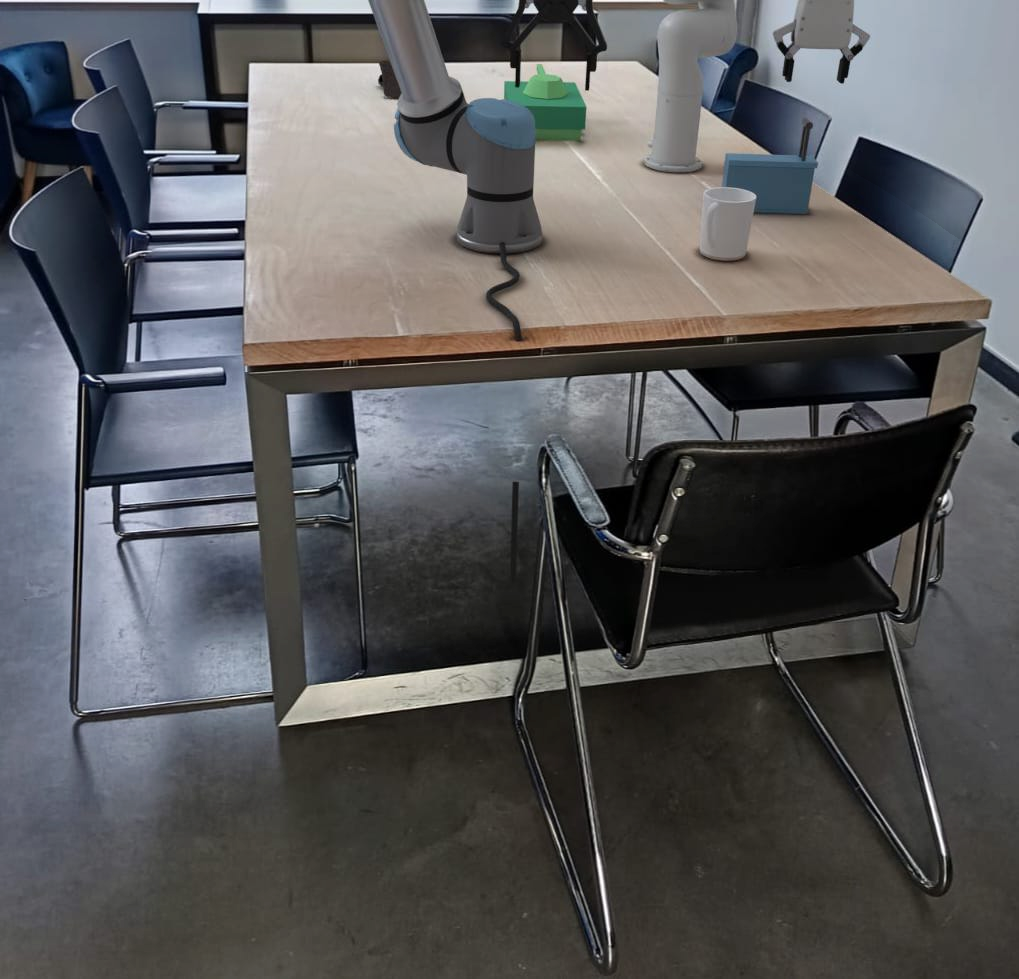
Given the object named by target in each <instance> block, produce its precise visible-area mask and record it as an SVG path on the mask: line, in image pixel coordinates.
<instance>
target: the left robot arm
mask: <svg viewBox="0 0 1019 979" xmlns="http://www.w3.org/2000/svg"><path fill="white" fill-rule="evenodd" d="M367 1H368V3H369V7H370V10H371V12H372V15H373V17H374V20H375V23H376V26H377V29H378V31H379V34H380V37H381V40H382V43H383V45H384V48H385V51H386V53H387V56H388V59H389V61H390V62H391V65H392V67H393V70H394V73H395V76H396V78H397V81H398V84H399V87H400V89H401V92H402V94H401V96H400V97H399V98H397V103H396V104H397V108H396V111H395V114H394V119H395V120H396V121H395V123H393V133H394V138H395V140H396V143H397V146H398V147H399V149H400V150H401V152H402V153H403V154H404V155H405V156H406V157H408V158H409V159H410V160H412V161H415V162H417V163H419V164H422V165H424V166H428V167H431V168H432V167H435V168H438V169H442V170H447V171H451V172H454V173H459V174H462V175H466V192H467V193H466V198H465V202H464V205H463V209H462V211H461V214H460V218H459V220H458V224H457V228H456V241H457V243H458V244H459V245H461V246H462V247H464V248H466V249H468V250H470V251H475V252H479V253H486V254H497V255H500V262H501V265H502V267H503V269H504V270H506V271H507V272H508V273H510V274H511V275H512V276H513V277H512V278H510V279H509V280H506V281H505V282H501V283H499V284H496V285H494V286H492V287H490V288H489V289H488V290H487V291H486V293H485V298H486V301H487V303H489V305H491V306H493V307H494V308H495V309H497V310H499V311H500V312H501V313H503V314H504V315H505V316H506V318H507V319H508V320H510V322H511V323H512V328H513V333H514V341H515V342H517V343H520V342H522V341H523V338H522V337H523V336H522V330H521V324H520V321H519V319H518V317H517V315H515V314H514V313H513V312H512V311H511V310H510V308H508V307H507V306H506V305H504V304H503V303H501V302H500V301H498V300H496V299H495V298H494V297H493V295H494V294H496V293H498V292H501V291H503V290H506V289H508V288H511V287H513V286H515V285H516V284H517V283H518V282H519V281H520V280H521V279H520V277H521V274H520V272H519V271H518V270H517V269H516V268H515V267H513V266H512V265H511V264H510V263H509V262H508V260H507V255H508V254H517V253H524V252H527V251H530V250H533V249H536V248H538V247H539V246H540V245H541V244H542V243H543V229H542V224H541V221H540V220H541V219H540V218H539V214H538V213H539V212H538V210H537V206H536V204H535V199H534V184H535V181H534V180H535V161H536V160H535V158H536V143H537V141H536V133H535V119H534V116H533V114H532V113H531V111H530V110H529V109H528V108H526V107H525V106H523V105H521V104H518V103H515V102H512V101H509V100H504V98H503V99H498V98H496V97H495V98H493V97H482V98H476V99H474V100H471V101H470V102H469V103H468V102H467V100H466V97H465V93H464V90H463V87H462V84H461V82H460V81H459V80H458V79H456V78H454V77H452V76H449V72H448V69H447V66H446V64H445V60H444V57H443V54H442V51H441V47H440V44H439V41H438V39H437V36H436V32H435V28H434V27H433V22H432V19H431V17H430V13H429V10H428V8H427V5H426V1H425V0H367ZM531 4H533V5H534V7H535V9H536V11H537V13H536V14H535V15H534V17H533V18H532V19H531V20H530V21H529V23H528V24H527V25H526V26H525V28H524V29H523V30H522V31H521V32H520V33H519V35H518V36H517V37H516V38H515V39H514V40H513V41H511V39H512V36H513V35H514V32H515V30H516V28H517V26H518V24H519V22H520V21H521V18H522V16H523V14H524V12H525V9H529V8H530V6H531ZM579 6H580V7H581V9H582V11H584V12H586V15H587V18H588V20H589V23H590V26H591V29H592V31H593V33H594V35H595V36H594V37H595V39H596V40H597V43H598V44H597V45H596V43H595V42H594V40H593V39H592V38H591V36H590V35H589V34H588V32H587V31H586V30H585V28H584V26H583V25H582V24H581V22H580V21H579V19H578V18H577V16H576V15H575V13H574V12H575V10H576V9H577V8H578V7H579ZM542 20H543V21H544V22H546V23H554V22H555V23H558V24H563V23H566V22H568V23H569V24H570V26H571V27H572V28H573V30H574V31H575V32H576V33H577V35H578V37H579V38H580V39H581V41H582V42H583V43H584V44H585V46H586V48H587V49H588V51H589V52H587V53H586V64H585V65H586V66H585V67H586V68H585V82H584V83H585V84H584V86H585V87H584V91H585V92H586V91H587V92H589V91H590V82H591V73H595V72H596V70H597V67H598V55H599V54H600V53H603V52H606V51H607V49H608V44H607V40H606V39H605V38H606V37H605V36H604V33H603V31H602V28H601V26H600V23H599V21H598V18H597V16H596V14H595V11H594V1H593V0H518V6H517V9H516V12H515V14H514V16H513V18H512V19H511V22H510V24H509V25H508V28H507V30H506V32H505V34H504V36H503V37H502V40H501V42H500V45H501V46H500V47H502V48H505V49H507V50H509V56H510V57H509V67H510V69H515V78H514V81H515V87H517V88H519V86H520V81H521V72H522V70H521V68H522V67H521V66H522V49H518V48H519V47H520V46H521V45H522V44H523V42H524V41H525V40H526V39H527V37H529V35H530V34H531V33H532V31H534V30H535V28H536V27H537V26H538V25H539V24H540V22H541V21H542ZM511 485H512V486H511V487H512V488H511V520H510V524H511V525H510V526H511V528H510V533H511V534H510V565H509V566H510V567H509V581H510V583H516V582H517V562H518V561H517V560H518V559H517V558H518V557H517V556H518V525H519V524H518V523H519V522H518V521H519V496H520V494H519V492H520V481H512V484H511Z"/></svg>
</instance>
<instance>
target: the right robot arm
mask: <svg viewBox="0 0 1019 979" xmlns="http://www.w3.org/2000/svg"><path fill="white" fill-rule="evenodd" d="M662 1H663V2H664V3H666V4H669V5H689V4H690V5H691V4H698V8H692V9H691V8H690V9H682V10H677V11H674V12H671V13H669V14H667V15H666V16H665V17H664V18H663V19H662V20H661V22H660V23H659V26H658V29H657V39H656V40H657V51H658V81H657V94H656V107H655V117H654V118H655V120H654V129H653V130H654V131H653V139H652V140H649V141H648V143H647V146H648V148H651V154H648V155H647V156H645V157H644V161H643V162H644V165H645V166H646V167H647V168H649V169H652V170H655V171H659V172H665V173H666V172H667V173H690V172H695V171H698V170H700V169H701V168H702V167H703V160H702V159H701V158H700V157H698V156H697V149H698V148H697V147H698V139H699V129H700V120H701V111H702V103H703V94H704V93H703V92H704V76H703V73H702V70H701V67H700V65H699V61H698V59H705V58H713V57H720V56H724V55H726V54H728V53H729V52H730V51H731V50H732V49H733V48H734V46H735V44H736V41H737V38H738V19H737V10H736V2H735V0H662ZM854 14H855V0H797V4H796V7H795V11H794V16H793V21H791V22H790V23H788V24H785V25H784V26H782V27H779V28H778V29H775V30H774V31H773V32H772V36H773V39H774V42H775V45H776V48H777V49H778V50H779V51H780V52H781V54H782V55H783V57H784V59H783V67H782V72H781V73H782V74H781V75H782V77H784V80H785V82H787V83H791V82H792V80H793V74H794V69H795V68H794V66H795V59H794V56H795V55H796V54H797V53H798V52H799V51H800V50H801V49H807V50H839V51H840V53H841V54H842V56H841V57H840V58H839V62H838V63H839V64H838V69H837V73H836V74H837V75H836V81H837V82H838V83H839V84H841V85H843V84H845V81H846V79H848V77H849V72H850V66H851V61H853V60H854V58H855V57H856V56H857V55H858V54H860V53H861V52H862V51H863V50H864V47H865V46H866V44H867V43H868V41H869V40H870V38H871V35H870V34H869V33H868V32H866V31H865V30H864V29H861V28H860V27H858V26H857V25H855V24H854ZM787 34H790V41H791V43H790V44H789V45H788V46H787V45H786V44H785V42H784V39H783V38H784V36H786V35H787ZM852 34H854V35H855V36H857V37H858V40H857V41H856V43H855V44H854V45H852V47H849V46H850V43H851V40H852Z"/></svg>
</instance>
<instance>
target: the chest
mask: <svg viewBox="0 0 1019 979" xmlns="http://www.w3.org/2000/svg"><path fill="white" fill-rule="evenodd" d="M815 169H816V168H788V167H756V166H729V165H728V163H727V161H726V159H725V158H724V165H723V173H722V180H721V187H730V188H739V189H744V190H747V191H750V192H752V193H754V194H755V195H756V202H755V207H754V213H753V214H755V213H756V214H757V213H758V214H785V215H808V212H809V211H808V210H809V206H810V200H811V194H812V188H813V181H814V176H815V171H816V170H815Z"/></svg>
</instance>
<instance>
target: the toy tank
mask: <svg viewBox="0 0 1019 979" xmlns="http://www.w3.org/2000/svg"><path fill="white" fill-rule="evenodd" d="M536 72H537V74H533V75H532V76H531V77H530V78H529V80H528V81H523V80H520V86H519V88H517V87H515V80H504V82H503V99H504V100H509V101H512V102H515V103H518V104H521V105H523V106H525V107H526V108H528V109H529V110H530V111H531V113H532V114H533V116H534V119H535V133H536V142H581V140H582V131H586V125H587V124H586V122H587V105H586V103H585V100H584V99H583V96H582V94H581V92H580V90H579V87H578V85H577V83H576V81H573V82H571V81H564V80H563V79H562V77H560V76H559V75H555V74H548V73H546V71H545V68H544V66H543V64H542V63H537V64H536Z"/></svg>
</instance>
